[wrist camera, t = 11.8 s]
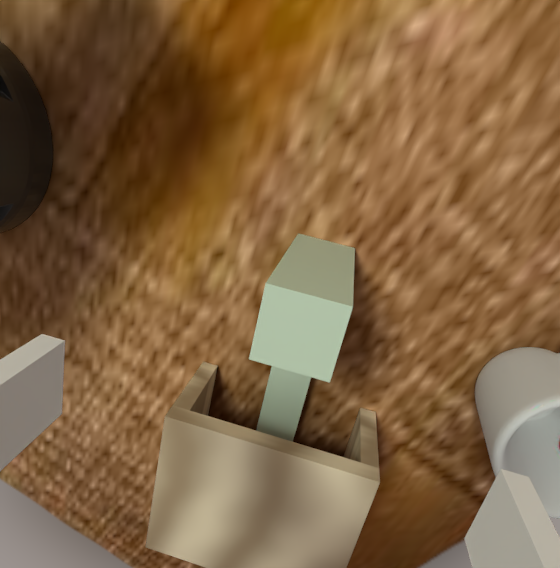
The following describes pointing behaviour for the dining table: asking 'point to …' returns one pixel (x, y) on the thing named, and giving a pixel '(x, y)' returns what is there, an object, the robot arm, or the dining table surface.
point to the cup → (524, 418)
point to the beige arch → (256, 490)
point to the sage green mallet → (301, 326)
